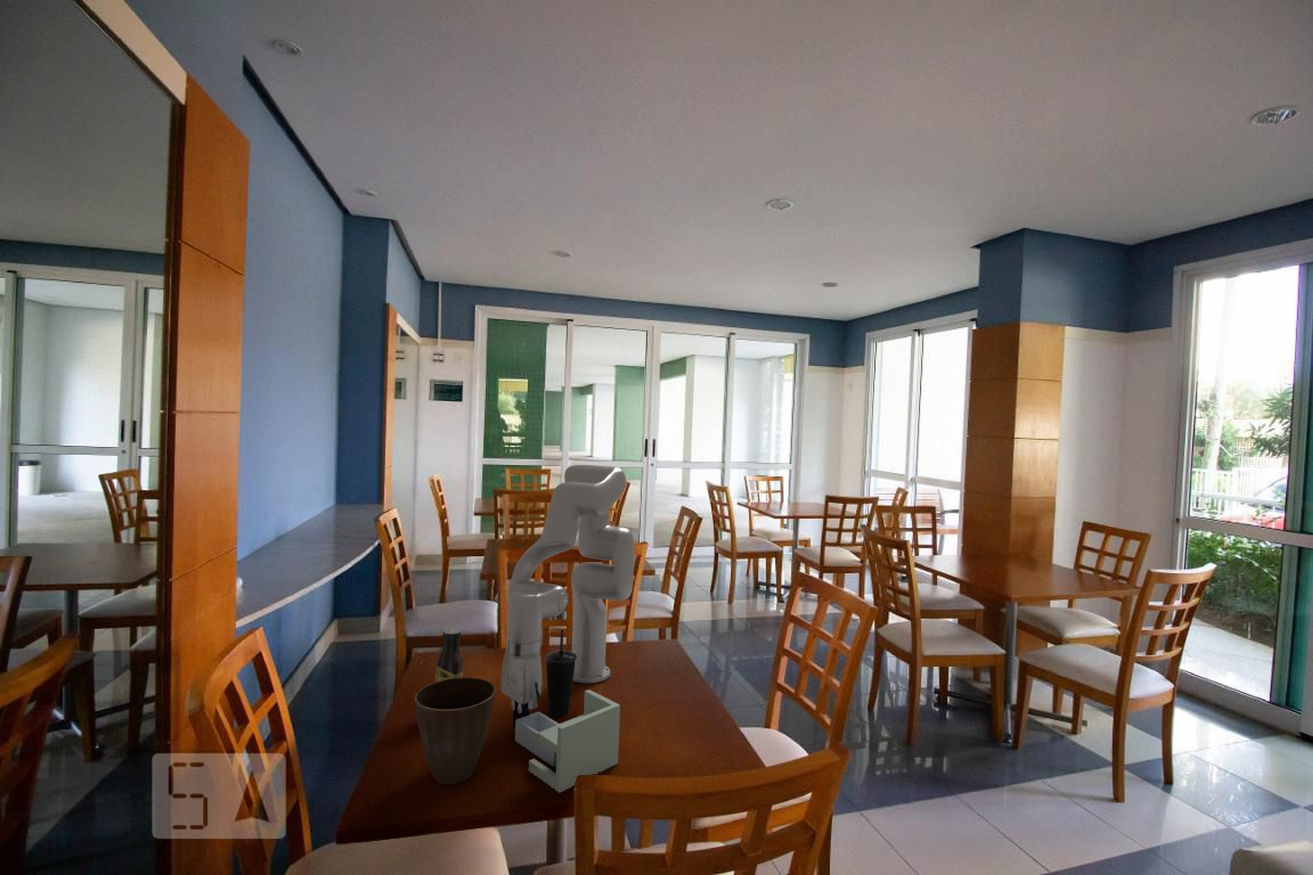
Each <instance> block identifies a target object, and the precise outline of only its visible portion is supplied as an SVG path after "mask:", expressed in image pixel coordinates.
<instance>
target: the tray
mask: <svg viewBox="0 0 1313 875" xmlns="http://www.w3.org/2000/svg"><path fill="white" fill-rule="evenodd" d="M558 724H560V723H559V722H557V721H555V720H553V719H552V718H550V717H548V716H547V715H545V714H543V713H542V712H540V711H537V712H534V713H531V714H529V715H528V716H525V717H522V718H520V719H517V720H516V727H515V729H514V730H515V733H514V734H515V735H514V741H515V742H516V743H517V744H519V745H521V746H522V747H524V749H527V750H528V751H529V752H530V753H532V754H533V755H535V756H537V757H538V758H540V759H541V760H542V761H544V762H545V763H546V764H548V765H550V766H551V767H553V768H554V767H556V762H557V753H556V752H554V751H553V750H551V749H550V748H548V747H547V746H545V745H544V744H542V743H541V742H539V741H538V740H537V739H538V732H541V731H543V730H546V729H548V728H551V727H553V726H556V725H558Z"/></svg>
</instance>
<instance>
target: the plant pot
mask: <svg viewBox="0 0 1313 875" xmlns="http://www.w3.org/2000/svg"><path fill="white" fill-rule="evenodd" d="M495 696H496V687H495V685H494V684H493V683H492V682H490V681H489V680H486V679H483V678H477V677H469V676H468V677H466V676H465V677H462V678H452V679H446V680H441V681H438V682H435V681H434V682H432V683H430V684H427V685H425V686H423V687H422V688H421V689H420V690H419V691H417V692H416V694H415V696H414V703H415V712H416V719H417V725H418V731H419V735H420V739H421V740H420V741H421V744H422V749H423V751H424V756H425V758H426V761H427V765H428V767H429V769H430V770H429V771H430V772H431V776H432V777H433V779H434V781H435V782H436V783H438V784H442V785H446V786H447V785H448V786H449V785H455V784H460V783H462V782H465V781H467V780H468V779H470V778H471V776H473V774H474V771H475V769H476V767H477V763H478V761H479V759H480V756H481V753H482V750H483V747H484V744H485V740H486V737H487V733H488V731H489V725H490V722H491V716H492V712H493V707H494V703H495V702H494V701H495Z"/></svg>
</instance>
